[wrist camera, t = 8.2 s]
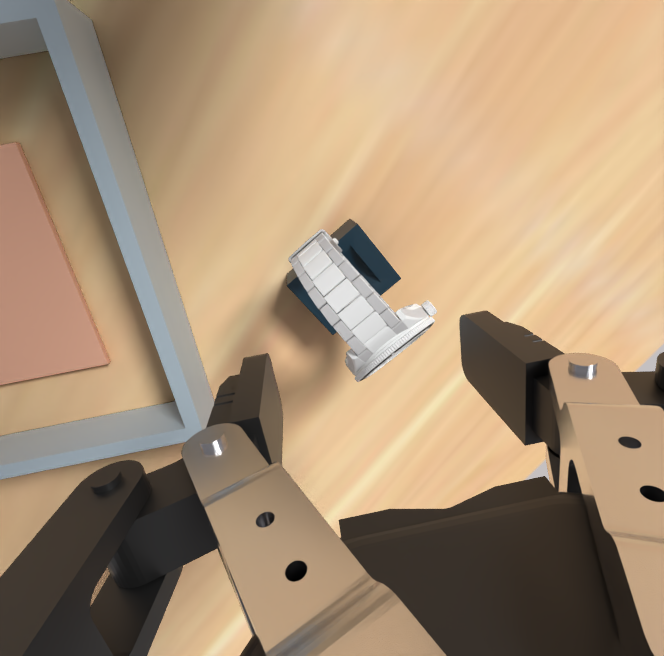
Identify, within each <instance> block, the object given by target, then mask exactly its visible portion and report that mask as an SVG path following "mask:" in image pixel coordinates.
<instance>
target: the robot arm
mask: <svg viewBox="0 0 664 656" xmlns="http://www.w3.org/2000/svg"><path fill="white" fill-rule="evenodd" d="M460 342H461V360H462V367H463V371H464V374H465V376H466V378H467V380H468V381H469V382H470V383H471V384H472V386H473V387H474V388H475V389H476V390H477V391H478V392H479V394H480V395H481V396H482V397H483V398H484V399H485V400H486V402H487V403H488V404H489V405H490V406H491V407H492V408H493V410H494V411H495V412H496V413H497V414H498V415H499V416H500V417H501V419H502V420H503V421H504V422H505V423H506V424H507V425H508V427H509V428H510V429H511V430H512V431H513V432H514V433H515V435H516V436H517V437H518V438H519V439H520V440H521V441H522V442H523V444H524V445H530V444H535V443H539V442H545V443H546V463H547V469H548V474H549V480H550V482H549V481H548V479H547V478H546V477H545V476H543V477H538V478H534V479H529V480H524V481H519V482H515V483H510V484H505V485H501V486H496V487H493V488H491V489H489V490H487V491H485V492H483V493H481V494H478V495H476V496H474V497H472V498H470V499H468V500H466V501H464V502H462V503H460V504H457V505H455V506H453V507H451V508H447V509H388V510H383V511H378V512H374V513H369V514H364V515H360V516H355V517H350V518H345V519H341V520H339V525H340V532H341V538H339V537H338V535H337V534H336V533H335V532H334V530H333V529H332V528H331V527H330V525H329V524H328V523H327V522H326V520H325V519H324V518H323V517H322V515H321V514H320V513H319V512H318V510H317V509H316V508H315V507H314V505H313V504H312V503H311V502H310V500H309V499H308V498H307V497H306V495H305V494H304V493H303V492H302V490H301V489H300V488H299V487H298V485H297V484H296V483H295V482H294V480H293V479H292V478H291V476H290V475H289V474H288V473H287V471H286V470H285V469H284V468H283V466H282V440H283V411H282V404H281V399H280V395H279V391H278V387H277V383H276V379H275V375H274V371H273V367H272V363H271V360H270V357H269V354H268V353H266V354H261V355H256V356H251V357H246V358H244V359H243V363H242V367H241V371H240V375H235V376H230V377H228V378H227V379H226V380H225V382H224V383H223V384H222V385H221V386H220V387H219V390H218V393H217V396H216V397H217V398H216V399H215V402H214V406H213V408H212V411H211V414H210V417H209V420H208V423H207V426H206V428H205V429H203V430H201V431H199V432H197V433H196V434H194V435H193V436H192V437H191V438H190V439H188V440H187V442H186V443H185V444H184V446H183V448H182V452H181V454H182V457H183V458H182V459H181V460H179V461H177V462H175V463H173V464H171V465H168V466H166V467H163V468H161V469H158V470H156V471H153V472H151V473H149V474H146V473H145V471H144V468H143V466H142V465H141V463H139V462H137V461H132V460H126V461H120V462H116V463H113V464H110V465H108V466H105V467H103V468H101V469H99V470H97V471H96V472H94V473H93V474H91V475H90V476H88V477H87V478H86V479H85V480H83V481H82V482H81V483H80V484H79V485H78V486H77V487H76V489H75V490H74V491H73V492H72V493H71V495H70V496H69V497H68V498H67V499H66V500H65V502H64V503H63V504H62V505H61V506H60V507H59V509H58V510H57V511H56V512H55V513H54V515H53V516H52V517H51V518H50V519H49V520H48V522H47V523H46V524H45V525H44V526H43V528H42V529H41V530H40V531H39V532H38V533H37V535H36V536H35V537H34V538H33V539H32V541H31V542H30V543H29V544H28V545H27V546H26V548H25V549H24V550H23V551H22V552H21V554H20V555H19V556H18V557H17V558H16V559H15V561H14V562H13V563H12V564H11V565H10V567H9V568H8V569H7V570H6V571H5V572H4V574H3V575H2V576H1V577H0V656H147V654H148V652H149V649H150V647H151V645H152V642H153V640H154V637H155V635H156V633H157V630H158V628H159V625H160V623H161V620H162V618H163V616H164V613H165V611H166V608H167V606H168V603H169V601H170V599H171V596H172V594H173V591H174V589H175V586H176V584H177V582H178V579H179V577H180V574H181V571H182V567H183V565H185V564H187V563H189V562H191V561H193V560H195V559H197V558H199V557H201V556H203V555H205V554H207V553H209V552H211V551H213V550H215V549H217V550H218V552H219V554H220V557H221V559H222V562H223V564H224V567H225V569H226V572H227V574H228V577H229V579H230V582H231V584H232V586H233V589H234V591H235V594H236V596H237V599H238V601H239V604H240V606H241V609H242V611H243V614H244V616H245V619H246V621H247V624H248V626H249V629H250V632H251V634H252V638H251V639H250V641H249V643H248V644H247V646H246V647H245V649H244V650H243V652H242V653H241V655H240V656H664V352H663V353H661V354H659V356H658V357H657V363H656V370H655V371H654V372H653V371H652V372H621V371H620V369H619V367H618V366H617V365H616V364H615V363H614V362H612V361H611V360H609V359H607V358H604V357H601V356H597V355H593V354H586V353H569V354H564V353H563V352H561V351H560V350H558V349H557V348H555V347H553V346H552V345H550V344H549V343H547V342H546V341H542V339H541V338H539V337H538V336H536V335H533V333H532V332H530V331H528V330H527V329H525V328H524V327H522V326H519V325H515V324H512V323H508V322H503V321H501V320H500V319H499V318H497V317H496V316H494V315H493V314H491V313H490V312H488V311H481V312H476V313H471V314H465V315H462V316H461V317H460ZM106 568H108V570H109V572H110V575H109V576H108V578H107V580H106V581H105V583H104V585H103V587H102V588H101V590H100V592H99V593H98V595H97V597H96V598H95V600H94V602H93V604H92V605H91V607H90V603H91V598H92V594H93V591H94V589H95V587H96V585H97V583H98V581H99V580H100V578H101V576H102V575H103V573H104V571H105V570H106Z"/></svg>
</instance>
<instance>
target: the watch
mask: <svg viewBox="0 0 664 656" xmlns="http://www.w3.org/2000/svg"><path fill="white" fill-rule="evenodd" d="M289 262H290V263H291V265H292V267H293V269H292V270H291V271H290V272H289V273H287V287H288V288H289V289H290V290H291V291H292V292H293V293H294V294H295V295H296V296H297V297H298V298H299V299H300V300H301V302H302V303H303V304H304V305H305V306H306V307H307V308H308V309H309V310H310V311H311V312H312V313H313V314H314V315H315V316H316V318H317V319H318V320H319V321H320V322H321V323H322V324H323V325H324V326H325V327H326V328H327V329H328V330H329V331H330V332H331V334H332V335H334V334H335V333H336V332H338V334H339V335H340V336H341V337H342V338H343V340H344V341H345V342H347V344H348V345H349V346H350V347H351V348H352V349H350V350H349V351H347V352H346V355H347V357H346V359H345V363H346V365H347V367H348V368H349V369H350V371H351V372H352V373H353V375H355V376H356V377H355V380H356V381H357V382H359V381H361V380H363V379H365V378H367V377H369V376H370V375H372V374H373V373H375V372H376V371H377V370H379V369H380V368H381V367H383V366H384V365H385V364H387V363H388V362H389V361H390V360H392V359H393V358H394V357H396V356H397V355H398V354H399V353H401V352H402V351H403V350H404V349H406V348H407V347H408V346H409V345H411V344H412V343H413V342H414V341H416V340H417V339H418V338H419V337H420V336H421V335H423V334H424V333H425V332H426V331H427V330H428V329H429V328H430V327H431V326H432V324H433V323H434V322H435V320H434V319H433V318H432V316H433V315H434V314H435V313H437V310H436V309H435V307H434V306H433V305H432V304H431V303H430V302H429V301H428V300H427V301H425V302H424V303H423V304H422V305H421V306H422V307H423V308H422V307H421V306H419V305H418V304H412V305H409V306H406V307H404V308H401V309H399V310H398V311H397V312H394V311H393V310H392V309H391V308H390V307H389V305H388V304H387V303H386V302H385V301H384V300H383V299H382V298H381V297H380V296H381V295H382V294H383V293H384V292H386V291H387V290H388V289H389V288H390V287H392V286H393V285H394V284H395V283H396V282H398V281H399V280H400V279H401V278H400V276H399V275H398V274H397V273H396V271H395V270H394V269H393V268H392V266H391V265H390V264H389V263H388V261H387V260H386V259H385V258H384V256H383V255H382V254H381V253H380V251H379V250H378V249H377V248H376V246H375V245H374V244H373V243H372V241H371V240H370V239H369V238H368V236H367V235H366V234H365V233H364V231H363V230H362V229H361V228H360V226H359V225H358V224H357V223H355V222H354V221H353V220H351V219H349V220H348V221H347V222H345V223H344V224H343V225H342V226H341V227H340V228H339V229H337V230H336V231H335V232H334V233H333V234H332V235H331V236H329V235H328V233H327V232H326V231H325V230H322V229H321V230H319V231H318V232H317V233H316V234H315V235H313V236H312V237H311V238H310V239H309V240H308V241H306V242H305V243H304V244H303V245H302V246H301V247H300V248H299V249H298V250H296V251H295V252H294V253H293V254H292V255H291V256H290V257H289ZM379 297H380V298H379ZM428 315H429V316H431V318H429V316H428Z"/></svg>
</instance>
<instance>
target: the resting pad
mask: <svg viewBox="0 0 664 656" xmlns="http://www.w3.org/2000/svg"><path fill="white" fill-rule="evenodd" d="M109 363H110V359H109V357H108V354H107V352H106V350H105V347H104V345H103V342H102V340H101V338H100V335H99V333H98V330H97V328H96V326H95V323H94V321H93V318H92V316H91V313H90V311H89V309H88V306H87V304H86V301H85V299H84V297H83V294H82V292H81V289H80V287H79V285H78V282H77V280H76V277H75V275H74V273H73V270H72V268H71V265H70V263H69V260H68V258H67V256H66V253H65V251H64V248H63V246H62V244H61V241H60V239H59V236H58V234H57V232H56V229H55V227H54V224H53V222H52V220H51V217H50V215H49V212H48V210H47V207H46V205H45V203H44V200H43V198H42V195H41V193H40V191H39V188H38V186H37V183H36V181H35V179H34V176H33V174H32V171H31V169H30V167H29V164H28V162H27V159H26V157H25V154H24V152H23V150H22V147H21V145H20V143H17V142H14V143H8V144H3V145H0V385H3V384H8V383H14V382H19V381H24V380H29V379H34V378H39V377H44V376H49V375H55V374H60V373H65V372H70V371H75V370H80V369H85V368H90V367H96V366H101V365H106V364H109Z"/></svg>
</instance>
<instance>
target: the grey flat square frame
mask: <svg viewBox="0 0 664 656" xmlns="http://www.w3.org/2000/svg"><path fill="white" fill-rule="evenodd" d="M43 51H49V54H50V57H51V60H52V62H53V65H54V68H55V71H56V73H57V76H58V79H59V82H60V84H61V87H62V90H63V93H64V95H65V98H66V101H67V104H68V106H69V109H70V112H71V115H72V117H73V120H74V123H75V126H76V128H77V131H78V134H79V137H80V139H81V142H82V145H83V148H84V150H85V153H86V156H87V159H88V161H89V164H90V167H91V170H92V172H93V175H94V178H95V181H96V183H97V186H98V189H99V192H100V195H101V197H102V200H103V203H104V206H105V208H106V211H107V214H108V217H109V219H110V222H111V225H112V228H113V230H114V233H115V236H116V239H117V241H118V244H119V247H120V250H121V252H122V255H123V258H124V261H125V263H126V266H127V269H128V272H129V274H130V277H131V280H132V283H133V285H134V288H135V291H136V294H137V296H138V299H139V302H140V305H141V307H142V310H143V313H144V316H145V318H146V321H147V324H148V327H149V329H150V332H151V335H152V338H153V340H154V343H155V346H156V349H157V351H158V354H159V357H160V360H161V362H162V365H163V368H164V371H165V373H166V376H167V379H168V382H169V385H170V387H171V390H172V393H173V396H174V398H175V401H174V402H169V403H164V404H159V405H154V406H149V407H144V408H139V409H134V410H129V411H124V412H119V413H114V414H109V415H104V416H99V417H93V418H88V419H83V420H78V421H73V422H68V423H63V424H58V425H53V426H48V427H43V428H38V429H33V430H28V431H23V432H18V433H13V434H8V435H3V436H0V480H1V479H5V478H10V477H15V476H20V475H25V474H30V473H35V472H40V471H45V470H50V469H55V468H60V467H65V466H70V465H75V464H79V463H84V462H89V461H94V460H99V459H104V458H109V457H114V456H119V455H124V454H129V453H134V452H139V451H144V450H149V449H153V448H158V447H163V446H168V445H173V444H178V443H183V442H187V440H188V439H190V438H191V437H192V436H193V435H194V434H196V433H197V432H199V431H201V430H203V429H205V428H206V426H207V423H208V420H209V417H210V414H211V411H212V408H213V406H214V399H213V395H212V392H211V389H210V386H209V383H208V380H207V377H206V374H205V371H204V367H203V364H202V361H201V358H200V355H199V352H198V349H197V346H196V343H195V339H194V336H193V333H192V330H191V327H190V324H189V321H188V318H187V315H186V312H185V308H184V305H183V302H182V299H181V296H180V293H179V290H178V287H177V284H176V280H175V277H174V274H173V271H172V268H171V265H170V262H169V259H168V256H167V252H166V249H165V246H164V243H163V240H162V237H161V234H160V231H159V228H158V225H157V221H156V218H155V215H154V212H153V209H152V206H151V203H150V200H149V197H148V193H147V190H146V187H145V184H144V181H143V178H142V175H141V172H140V169H139V165H138V162H137V159H136V156H135V153H134V150H133V147H132V144H131V141H130V138H129V134H128V131H127V128H126V125H125V122H124V119H123V116H122V113H121V110H120V106H119V103H118V100H117V97H116V94H115V91H114V88H113V85H112V82H111V78H110V75H109V72H108V69H107V66H106V63H105V60H104V57H103V54H102V51H101V47H100V44H99V41H98V38H97V35H96V32H95V29H94V26H93V23H92V20H91V19H90V18H89V17H87V16H86V15H85V14H84V13H82V12H81V11H80V10H79V9H77V8H76V7H75V6H74V5H72V4H71V3H70V2H69V1H67V0H0V59H2V58H7V57H13V56H19V55H25V54H31V53H37V52H43Z"/></svg>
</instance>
